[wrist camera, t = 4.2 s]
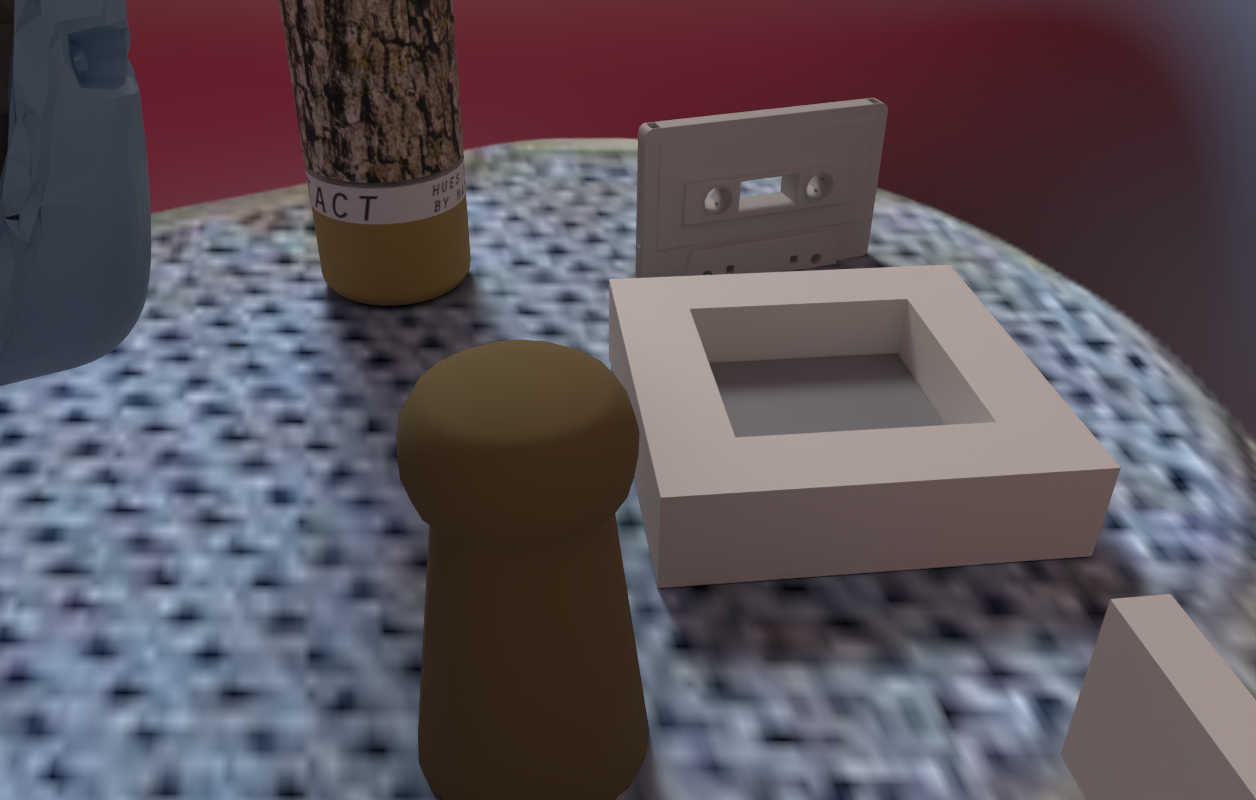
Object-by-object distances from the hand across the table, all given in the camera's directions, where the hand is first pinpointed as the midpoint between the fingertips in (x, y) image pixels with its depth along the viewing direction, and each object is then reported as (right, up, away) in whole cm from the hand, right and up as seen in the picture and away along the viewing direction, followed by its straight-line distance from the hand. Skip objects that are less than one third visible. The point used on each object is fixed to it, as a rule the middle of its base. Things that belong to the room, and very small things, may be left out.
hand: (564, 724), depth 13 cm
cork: (-2, -5, +16) cm, 17 cm away
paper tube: (-10, +9, +38) cm, 40 cm away
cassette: (+7, +10, +39) cm, 41 cm away
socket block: (+8, +2, +27) cm, 28 cm away
